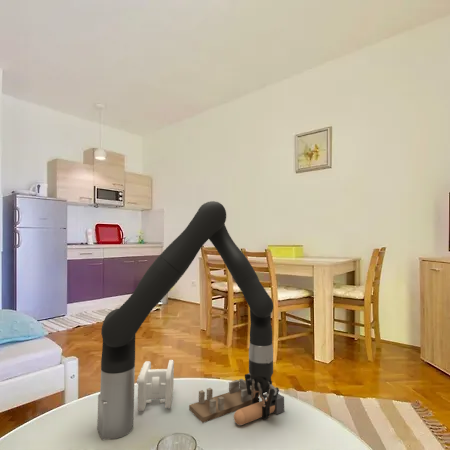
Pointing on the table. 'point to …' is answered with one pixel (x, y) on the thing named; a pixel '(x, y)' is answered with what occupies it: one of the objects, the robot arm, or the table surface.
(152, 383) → the cable organizer
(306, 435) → the table surface
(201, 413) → the brown pegged board
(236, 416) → the tan rounded rod
